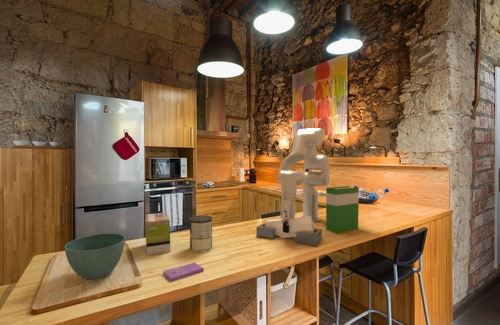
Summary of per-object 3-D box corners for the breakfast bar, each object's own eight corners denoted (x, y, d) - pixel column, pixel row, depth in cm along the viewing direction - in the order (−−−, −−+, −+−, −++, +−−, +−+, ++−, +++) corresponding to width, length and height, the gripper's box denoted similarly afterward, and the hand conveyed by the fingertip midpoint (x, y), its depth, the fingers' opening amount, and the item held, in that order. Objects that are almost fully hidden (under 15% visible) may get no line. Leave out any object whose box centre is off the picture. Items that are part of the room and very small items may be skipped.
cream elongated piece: (314, 244, 123) (309, 217, 124) (267, 246, 135) (263, 222, 135) (317, 240, 128) (312, 215, 129) (271, 242, 139) (267, 219, 140)
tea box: (145, 244, 123) (145, 213, 122) (167, 241, 127) (167, 211, 126) (146, 255, 109) (145, 221, 108) (170, 252, 113) (170, 218, 112)
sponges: (163, 275, 92) (163, 270, 92) (195, 266, 100) (195, 261, 100) (171, 283, 86) (171, 277, 86) (204, 272, 94) (204, 267, 94)
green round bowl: (130, 277, 89) (129, 243, 89) (65, 294, 79) (64, 255, 78) (121, 260, 104) (120, 230, 104) (65, 272, 93) (65, 239, 93)
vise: (266, 230, 144) (266, 221, 144) (321, 238, 130) (321, 229, 130) (256, 236, 134) (256, 226, 134) (315, 246, 119) (315, 235, 119)
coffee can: (185, 248, 117) (185, 217, 117) (204, 242, 124) (204, 214, 124) (197, 254, 110) (197, 221, 109) (217, 248, 117) (217, 217, 117)
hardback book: (347, 225, 153) (348, 185, 153) (358, 229, 147) (358, 187, 146) (326, 230, 145) (326, 187, 144) (336, 233, 139) (336, 189, 138)
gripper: (287, 193, 141) (287, 225, 141) (275, 198, 125) (275, 234, 126) (300, 194, 137) (300, 227, 138) (289, 199, 122) (289, 236, 122)
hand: (288, 230), depth 132 cm, fingers open, 7 cm apart
